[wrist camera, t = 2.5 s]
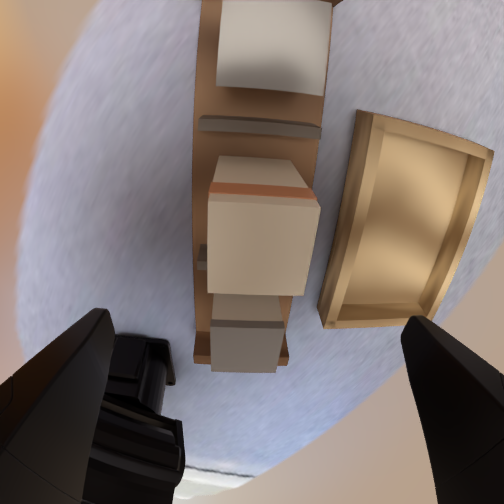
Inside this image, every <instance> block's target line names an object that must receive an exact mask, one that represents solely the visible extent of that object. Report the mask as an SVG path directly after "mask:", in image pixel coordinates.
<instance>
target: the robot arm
mask: <svg viewBox="0 0 504 504" xmlns="http://www.w3.org/2000/svg"><path fill="white" fill-rule="evenodd" d="M401 344H402V349H403V353H404V358H405V363H406V368H407V372H408V377H409V381H410V385H411V389H412V392H413V395H414V399H415V402H416V406H417V410H418V413H419V417H420V421H421V424H422V429H423V433H424V436H425V440H426V445H427V449H428V454H429V458H430V463H431V468H432V473H433V478H434V483H435V487H436V488H435V489H436V495H437V501H438V504H504V375H503V374H502V373H499V371H498V370H497V369H495V368H494V367H493V366H492V365H490V364H489V363H487V362H486V361H485V360H484V359H482V358H481V357H480V356H478V355H477V354H476V353H474V352H473V351H472V350H470V349H469V348H468V347H466V346H465V345H463V344H462V343H461V342H459V341H458V340H457V339H455V338H454V337H453V336H451V335H450V334H449V333H447V332H446V331H444V330H443V329H442V328H440V327H439V326H437V325H436V324H435V323H433V322H432V321H430V320H429V319H428V318H426V317H425V316H423V315H412V316H411V317H410V318H409V319H408V321H407V323H406V325H405V327H404V329H403V331H402V333H401ZM175 382H176V379H175V374H174V368H173V362H172V357H171V351H170V344H169V343H168V342H167V341H165V340H156V339H145V338H135V337H126V336H117V335H115V330H114V326H113V323H112V319H111V316H110V313H109V311H108V310H107V309H103V308H94V309H92V310H91V311H90V312H89V313H87V314H86V315H85V316H83V317H82V318H81V319H80V320H78V321H77V322H76V323H75V324H73V325H72V326H71V327H69V328H68V329H67V330H66V331H64V332H63V333H62V334H61V335H60V336H58V337H57V338H56V339H55V340H53V341H52V342H51V343H50V344H48V345H47V346H46V347H45V348H44V349H42V350H41V351H40V352H39V353H38V354H36V355H35V356H34V357H33V358H32V359H30V360H29V361H28V362H27V363H26V364H24V365H23V366H22V367H21V368H20V369H19V370H17V371H16V372H15V373H14V374H13V376H10V377H9V378H8V379H7V380H6V381H5V382H3V383H2V384H1V385H0V504H172V501H173V494H174V490H175V487H177V486H178V484H179V483H180V481H181V479H182V476H183V473H184V469H185V449H184V439H183V428H182V421H180V420H177V419H175V420H174V419H171V418H168V417H165V416H162V415H161V410H162V404H163V397H164V391H165V385H169V386H173V385H175Z"/></svg>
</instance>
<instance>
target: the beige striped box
mask: <svg viewBox="0 0 504 504" xmlns="http://www.w3.org/2000/svg"><path fill="white" fill-rule="evenodd" d="M320 211H321V207H320V206H319V204H318V202H317V197H316V196H315V194H314V193H313V191H312V190H311V188H308V186H307V185H306V183H305V182H304V180H303V179H302V177H301V176H300V174H299V173H298V171H297V169H296V168H295V166H294V165H293V163H292V162H291V160H281V159H269V158H255V157H238V156H219V159H218V162H217V166H216V170H215V174H214V178H213V182H211V184H210V188H209V194H208V233H207V288H208V293H220V294H246V295H281V296H303V295H304V290H305V286H306V281H307V277H308V272H309V267H310V262H311V257H312V252H313V247H314V242H315V237H316V232H317V227H318V222H319V216H320Z"/></svg>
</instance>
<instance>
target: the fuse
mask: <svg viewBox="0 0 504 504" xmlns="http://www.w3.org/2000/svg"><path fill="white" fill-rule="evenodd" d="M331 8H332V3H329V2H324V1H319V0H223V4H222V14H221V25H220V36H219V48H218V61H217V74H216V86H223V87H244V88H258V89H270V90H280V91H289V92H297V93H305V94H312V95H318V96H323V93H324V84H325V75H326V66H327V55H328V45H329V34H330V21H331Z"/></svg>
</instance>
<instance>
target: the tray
mask: <svg viewBox="0 0 504 504" xmlns="http://www.w3.org/2000/svg"><path fill="white" fill-rule="evenodd" d="M493 156H494V151H493V150H491V149H488V148H486V147H484V146H482V145H479V144H477V143H474V142H472V141H469V140H466V139H464V138H461V137H458V136H455V135H452V134H449V133H446V132H443V131H440V130H436V129H433V128H430V127H427V126H423V125H420V124H416V123H412V122H409V121H405V120H401V119H397V118H393V117H389V116H385V115H381V114H376V113H372V112H367V111H362V110H357V114H356V121H355V127H354V134H353V140H352V147H351V153H350V158H349V164H348V170H347V175H346V181H345V186H344V191H343V196H342V201H341V206H340V211H339V216H338V221H337V226H336V230H335V235H334V239H333V244H332V248H331V252H330V257H329V261H328V265H327V269H326V273H325V277H324V281H323V285H322V289H321V293H320V297H319V301H318V304H317V309H318V312H319V315H320V319H321V322H322V325H323V329H341V328H367V327H386V326H401V325H406V323H407V321H408V319H409V318H410V317H411V316H412V315H423V316H425V317H426V318H428V319H429V320H430V321H432V319H433V317H434V315H435V313H436V312H437V310H438V308H439V306H440V304H441V302H442V300H443V297H444V295H445V293H446V291H447V289H448V287H449V285H450V283H451V280H452V278H453V276H454V274H455V271H456V269H457V267H458V264H459V262H460V259H461V257H462V254H463V252H464V249H465V247H466V244H467V242H468V239H469V236H470V234H471V231H472V228H473V225H474V222H475V219H476V216H477V213H478V210H479V207H480V204H481V201H482V198H483V194H484V191H485V187H486V184H487V180H488V176H489V172H490V168H491V164H492V160H493Z"/></svg>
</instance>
